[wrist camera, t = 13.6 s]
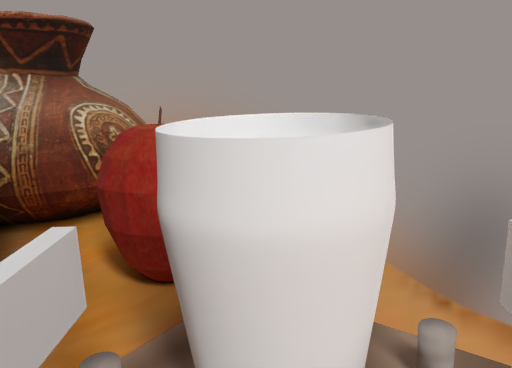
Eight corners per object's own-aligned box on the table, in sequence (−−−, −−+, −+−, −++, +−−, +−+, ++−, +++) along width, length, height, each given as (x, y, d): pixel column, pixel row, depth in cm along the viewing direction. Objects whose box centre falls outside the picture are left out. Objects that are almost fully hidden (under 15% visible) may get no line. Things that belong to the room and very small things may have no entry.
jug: (197, 210, 54) (185, -5, 48) (-112, 273, 38) (-187, -38, 32) (124, 172, 79) (110, 26, 73) (-83, 200, 63) (-123, 16, 57)
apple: (223, 244, 43) (216, 100, 39) (243, 291, 33) (236, 105, 30) (113, 256, 40) (96, 104, 37) (101, 310, 31) (76, 112, 28)
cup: (131, 441, 17) (92, 135, 14) (234, 323, 25) (223, 112, 22) (364, 531, 13) (376, 143, 11) (399, 358, 21) (410, 112, 19)
